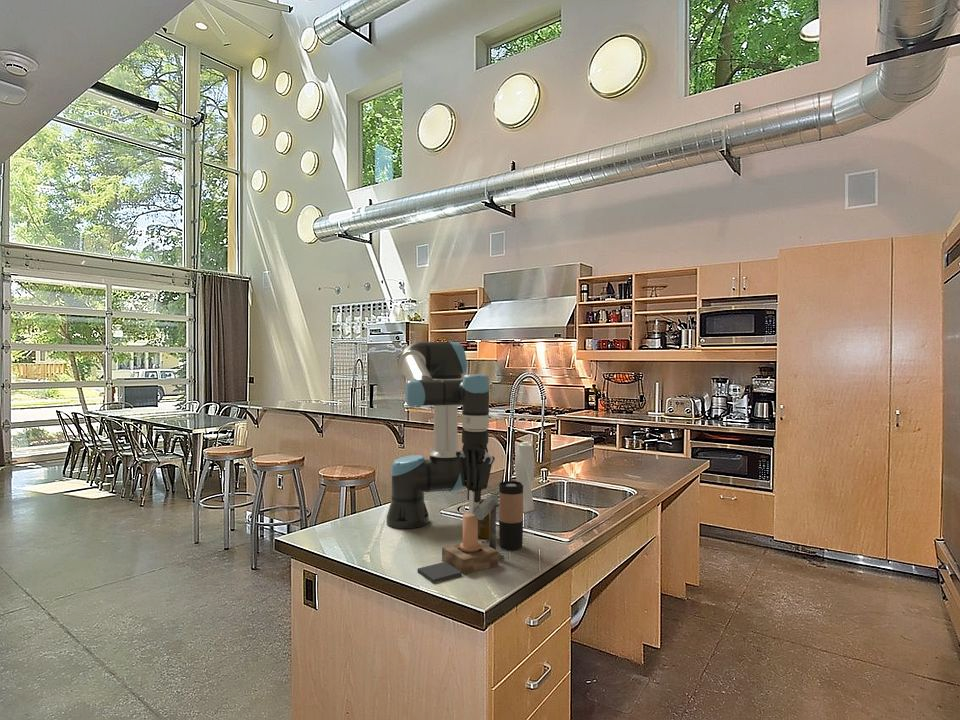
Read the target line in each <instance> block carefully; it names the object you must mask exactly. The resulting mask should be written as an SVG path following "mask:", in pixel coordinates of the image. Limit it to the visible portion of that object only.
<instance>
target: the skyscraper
mask: <svg viewBox="0 0 960 720" xmlns="http://www.w3.org/2000/svg"><path fill="white" fill-rule="evenodd" d="M534 452H535V451H534V440H533V438H531V439H530V443H529V441H521V443H519V442H518V441H517V444H516V451H515V460H514V472H515V473H514V474H515V480H516V481H517V482H520V483H521V484H522V485H523V515H524V514H529V513H532V512H535V511H538V508H535V504H534V500H533V493H532V486H533V481H534V477H535V466H536V465H535V453H534Z"/></svg>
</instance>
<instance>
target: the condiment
mask: <svg viewBox="0 0 960 720" xmlns="http://www.w3.org/2000/svg"><path fill="white" fill-rule="evenodd" d="M484 500H485V499H481V501H480V502H479V505H480V504H481V503H482V502H483V501H484ZM497 539H499V535H497V534H496V540H497ZM478 541H480V542H482V543H483V542H487V541H488V542H489V514H488V515H487V516H486V517H485V518H484V519H483V520H478Z"/></svg>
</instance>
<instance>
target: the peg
mask: <svg viewBox="0 0 960 720" xmlns="http://www.w3.org/2000/svg"><path fill="white" fill-rule="evenodd" d="M460 543H461V544H460V550H462V551H463V552H464V553H466V554H470V553H474V552H478V551H479V550H480V543H478V520H476V519H475V514H469V512H468V513H467V512H466V513H464V514H462V542H460Z"/></svg>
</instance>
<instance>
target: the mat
mask: <svg viewBox="0 0 960 720" xmlns="http://www.w3.org/2000/svg"><path fill="white" fill-rule="evenodd" d="M417 573H418V574H420V575H421V576H422V577H424V578H425V579H426V580H428V581H429V582H431V583H432V584H437V583H440V582H443V581H447V580H451V579H454V578H458V577H462V575H463V573H462V572H461V571H459V570H458V569H456V568H454V567H453V566H451V565H450V564H448V563H446V562H443V561H442V562H439V563H434V564H431V565H426V566H422V567H418V568H417Z"/></svg>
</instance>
